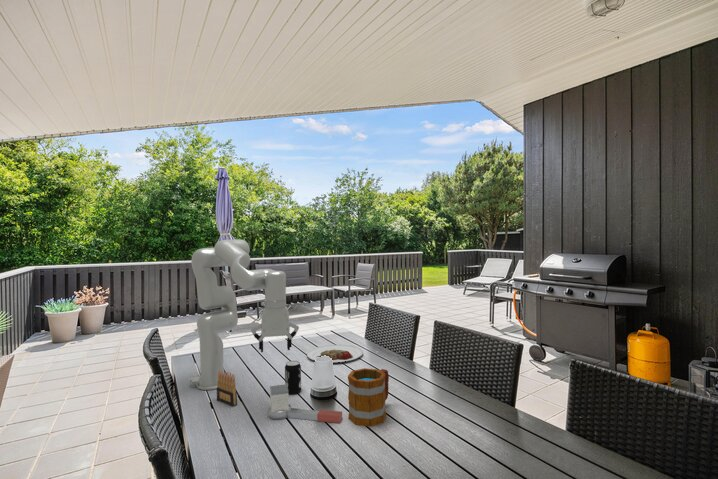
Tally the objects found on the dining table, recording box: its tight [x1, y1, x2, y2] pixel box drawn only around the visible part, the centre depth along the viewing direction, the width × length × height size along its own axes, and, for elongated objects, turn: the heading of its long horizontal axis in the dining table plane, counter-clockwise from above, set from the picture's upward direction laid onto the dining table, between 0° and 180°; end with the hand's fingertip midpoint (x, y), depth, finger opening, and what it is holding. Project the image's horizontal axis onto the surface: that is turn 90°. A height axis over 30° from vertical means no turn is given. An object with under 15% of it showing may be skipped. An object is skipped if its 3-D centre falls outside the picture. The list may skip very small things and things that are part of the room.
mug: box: [347, 368, 390, 428], centre depth 136 cm, size 20×14×15 cm
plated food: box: [306, 344, 364, 364], centre depth 204 cm, size 30×30×3 cm
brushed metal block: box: [269, 383, 290, 412], centre depth 137 cm, size 6×6×7 cm
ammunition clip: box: [216, 370, 238, 407], centre depth 148 cm, size 11×2×12 cm, turn 54°
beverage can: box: [284, 360, 302, 395], centre depth 157 cm, size 7×7×12 cm
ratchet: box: [267, 404, 343, 424], centre depth 135 cm, size 27×8×6 cm, turn 76°
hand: (275, 350), depth 141 cm, fingers open, 9 cm apart
